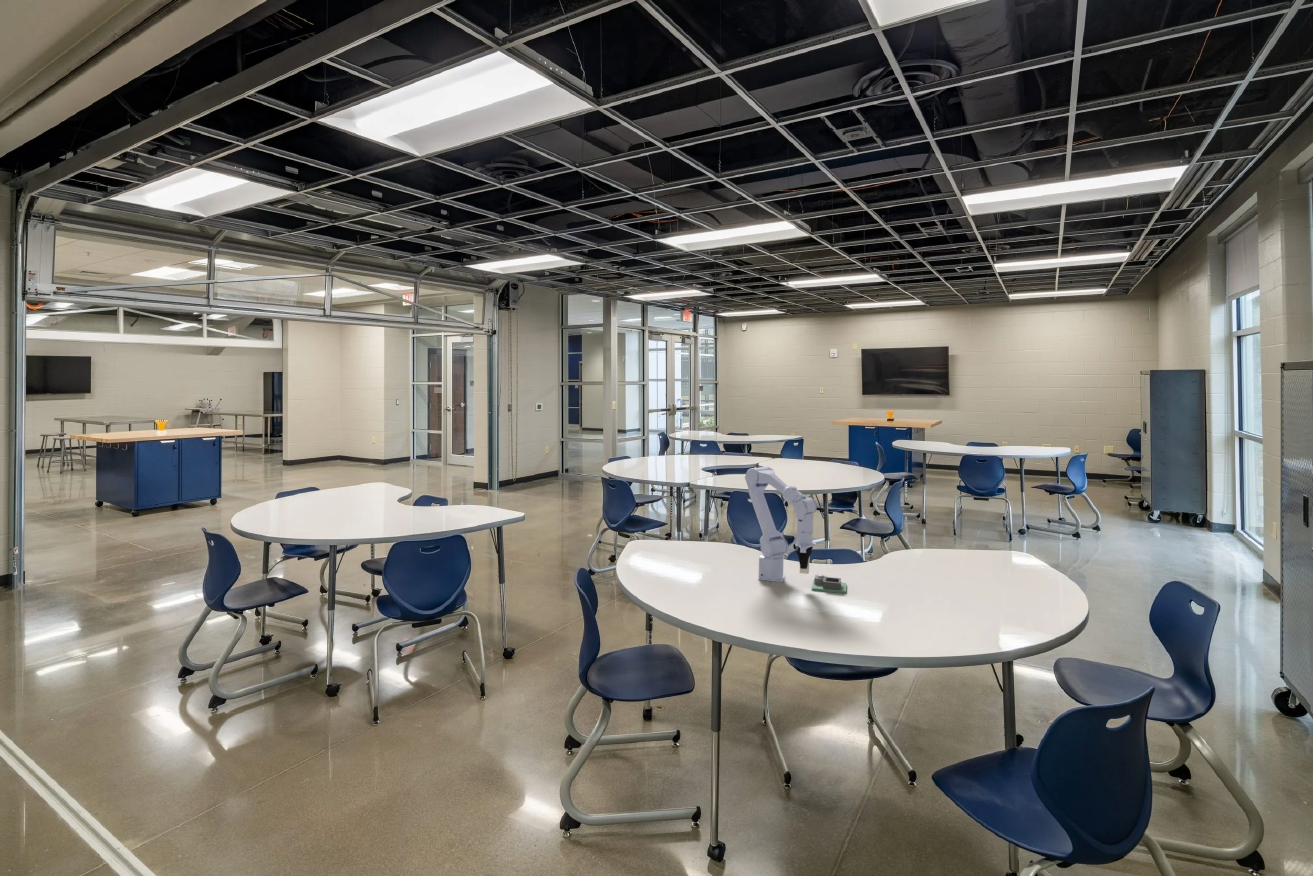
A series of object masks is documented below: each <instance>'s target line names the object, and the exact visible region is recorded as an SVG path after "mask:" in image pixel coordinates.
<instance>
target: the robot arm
mask: <svg viewBox="0 0 1313 876" xmlns="http://www.w3.org/2000/svg"><path fill="white" fill-rule="evenodd" d="M744 479H745V480H744V481H745V482H746V485H747V490H748V495H749V498H750V501H751V504H752V506H753V510H754V513H755V515H756V518H757V521H758V523H759V526H760V529H761V533H762V535H761V536H760V538H759V543H760V551H761V554H760V556H759V559H758V578H757V580H759V581H766V582H775V583H776V582H777V583H783V582H784V581H785V578H786V575H785V574H784V557H785V556H786V553H787V552H788V551H789V544H788V541H787V540H786V539H785V537H784V534H783V533H782V532H780V531H778V530H777V528H776V525H775V522H774V519H773V516H772V514H771V510H770V508H769V506H768V502H767V499H766V497H765V493H764V492H765V489H767V488H768V486H769V485H770V486H771V487H772V488H774V489H775V490H777V491H778V492H780V493H781V494H782V498H783V500H785V501H786V502H787V503H789V504H790V506H792V507H793V509H794V512H795V514H796V515H795V517H796V519H797V520H796V521H797V522H796V542H795V544H796V549H795V552H796V554H797V557H798V561H799V569H800V568H801V569H806V568H807V565H808V559H809V556H811V554H812V552H813V551H812V550H813V547H815V546H816V545H817V543H816V542H813V541H814V540H813V538H814V537H813V535H814V533H813V532H814V513H815V512H816V511H817V508H818V504H817V500H815V499H814V498H813V497H808V496H806V495H805V494H803V493H802V492H800V491H799V490H798V488H797V487H796V486H788V484H786V483H785V482H784V481H783V480H782V479H780V477H778V475H776V473H775V470H774V469H772V468H771V467H770V466H763V467H762V466H761V467H754V468H753V467H752V468H751V467H750V468H749V469H747V471H746V473H745V475H744Z"/></svg>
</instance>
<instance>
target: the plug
mask: <svg viewBox="0 0 1313 876" xmlns="http://www.w3.org/2000/svg"><path fill="white" fill-rule="evenodd" d="M810 556H811V555H810ZM810 556H809V559H808V565H807V568H806V569H801V568H800V567H799V574H805V575H809V574H810V559H811V558H810Z"/></svg>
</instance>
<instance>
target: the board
mask: <svg viewBox="0 0 1313 876" xmlns="http://www.w3.org/2000/svg"><path fill="white" fill-rule="evenodd" d="M811 591H814V592H815V591H817V592H825V593H827V592H829V593H837V594H844V595H845V594H847V582H842V578H841V577H831V576H827V575H824V574H815V575H814V579H813V581H812V586H811Z"/></svg>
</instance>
